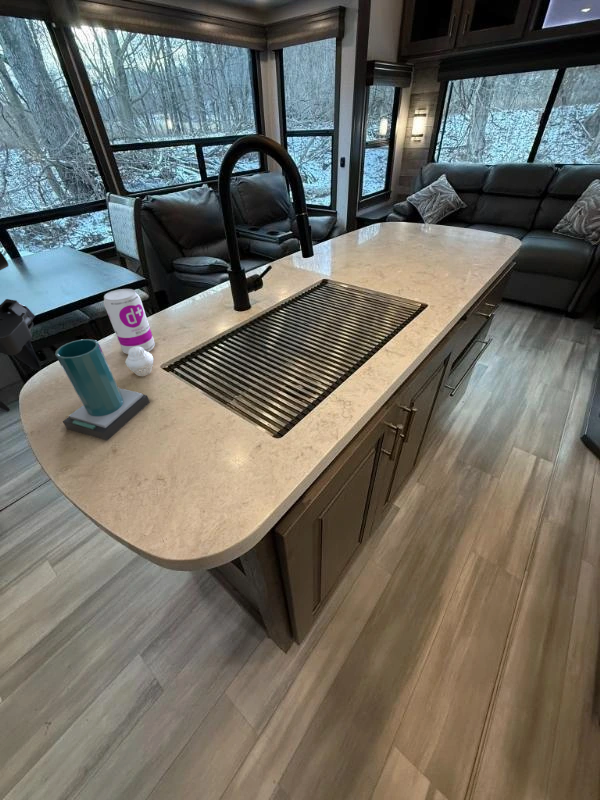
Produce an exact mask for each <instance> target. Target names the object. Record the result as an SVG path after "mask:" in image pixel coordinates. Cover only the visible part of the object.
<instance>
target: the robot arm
mask: <svg viewBox="0 0 600 800" xmlns="http://www.w3.org/2000/svg"><path fill="white" fill-rule="evenodd" d="M8 267H9V263H8V260H7V258H6V257H5V255H4V254H3V253H2V252H1V251H0V271H2V270H4V269H6V268H8ZM35 318H36V314H34V312H32V310H31V309H30V308H29V307H28V306H27V305H25V304H22V303H20V302H19V301H17V300H16V299H9V298H6V299H5V300H3V301H2V302H1V303H0V354H4V355H7V356H14V357H16V358H17V359H19V360H20V361H21V362H22V363H24V364H25V365H26V366H28V367H30V368H31V369H33V370H37V371H38V370H41V369H42V366H41V364H40V361H39V359H38V356H37V354H36V351H35V350H34V348H33V345H32V341H31V339H32V338H33V334H32V332H31V331H32V328H33V327H34V322H33V320H34V319H35ZM10 410H11V409H10V408H9V406H7V405H6V403H4V402H3V401H2V400H0V412H1V413H8V412H10Z"/></svg>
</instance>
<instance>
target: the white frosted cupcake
mask: <svg viewBox="0 0 600 800" xmlns="http://www.w3.org/2000/svg"><path fill="white" fill-rule="evenodd" d="M124 362H125V363H124V364H125V365H126V367H127V368H128V370H130V371H131V372H132V373H134V374H135V375H136V376H138V377H147V376H149V375H150V374H151V373H152V370H153V366H154V356H153V354H152V353H151V352H150V351H149V352H146V351H145V350H144V349H143V348H142V347H139V346H138V347H137V346H136V347H132V348H131V349H130V350H129V351H128V354H127V357H126V359H125V361H124Z"/></svg>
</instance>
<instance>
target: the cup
mask: <svg viewBox="0 0 600 800" xmlns="http://www.w3.org/2000/svg"><path fill="white" fill-rule="evenodd" d="M54 355H55V357H56V359H57V361H58V362H59V364H60V366H61V368H62V370H63V372H64V374H65V375H66V378H67V379H68V381H69V383H70V385H71V387H72V388H73V390H74V392H75V394H76V395H77V397H78V399H79V400H80V403H81V405H82V406H84V408H85V410H86V411H87V413H88V414H89V415H91V416H105V415H108V414H111V413H113V412H115V411H116V410H118V409H119V408H120V407H121V406H122V405H123V398H122V395H121V392H120V390H119V388H120V387H119V385H118V384H117V381H116V379H115V377H114V374H113V372H112V370H111V368H110V366H109V364H108V361H107V358H106V356H105V354H104V351H103V349H102V347H101V345H100V343H99V341H97V340H96V339H91V338H86V339H85V338H83V339H76V340H73V341H70V342H67V343H65V344H62V345H61V346H59V347H58V348H57V349H56V350H55V354H54Z"/></svg>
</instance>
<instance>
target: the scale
mask: <svg viewBox="0 0 600 800" xmlns="http://www.w3.org/2000/svg"><path fill="white" fill-rule="evenodd" d="M118 388H119V390H120V392H121V395H122V398H123V405H122V406H121V407H120V408H119V409H118V410H116V411H115V412H113V413H111V414H108V415H105V416H91V415H89V414H88V413H87V411H86V410H85V408H84V406H83V405H81V406H80V407H79V408H77V409H76V410H74V411H73V412H72V413H70V414H69V415H68V416H67V418H65V419H64V420H62V423H63V425H64V426H65V428H66V430H70V431H72V432H76V433H79V434H82V435H86V436H90V437H93V438H96V439H100V440H103V441H109V440H110V439H111V438H113V436H114V435H115V434H117V432H119V431H120V430H121V429H122V428H123V427H124V426H125V425H127V424H128V423H129V422H130V421H131V420H132V419H134V418H135V416H137V414H139V413H140V412H141V411H143V409H144V408H146V407H147V406H148V405H149V404H150V403H151V401H150V400H149V397H148V395H147V394H144V393H141V392H137V391H134V390H129V389H125V388H120V387H118Z"/></svg>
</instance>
